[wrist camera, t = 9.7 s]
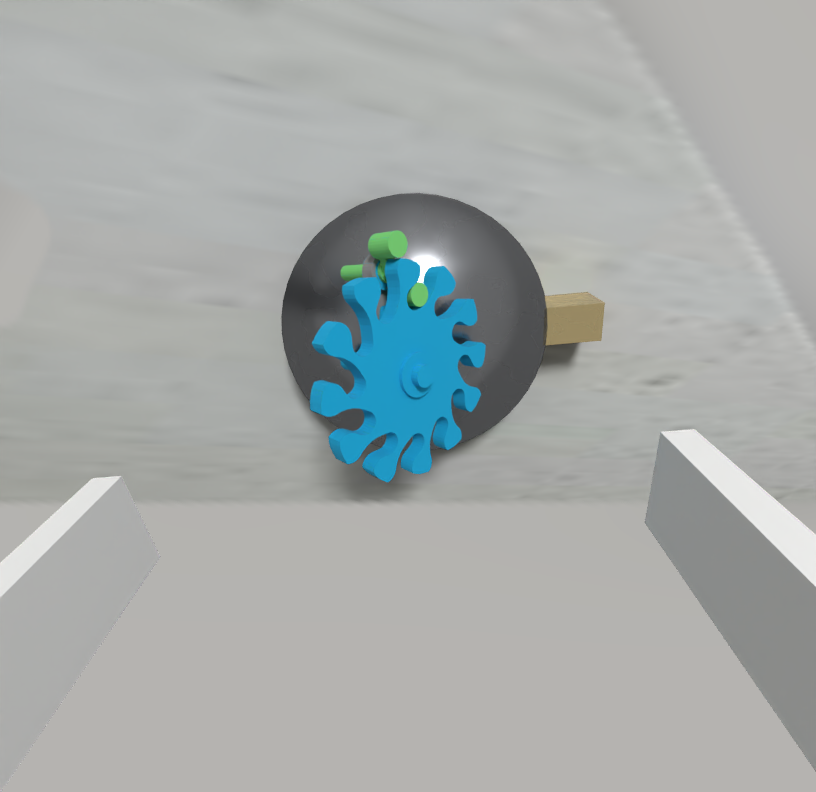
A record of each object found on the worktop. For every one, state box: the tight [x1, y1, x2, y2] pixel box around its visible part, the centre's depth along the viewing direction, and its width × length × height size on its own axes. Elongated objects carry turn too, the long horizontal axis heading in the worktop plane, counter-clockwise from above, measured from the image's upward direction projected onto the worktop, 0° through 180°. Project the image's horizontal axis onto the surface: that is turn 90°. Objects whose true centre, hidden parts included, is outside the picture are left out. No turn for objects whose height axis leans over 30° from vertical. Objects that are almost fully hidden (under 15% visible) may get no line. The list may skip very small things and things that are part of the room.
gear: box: [310, 230, 486, 482], centre depth 21 cm, size 11×6×10 cm
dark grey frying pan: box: [282, 193, 605, 451], centre depth 24 cm, size 17×14×2 cm
